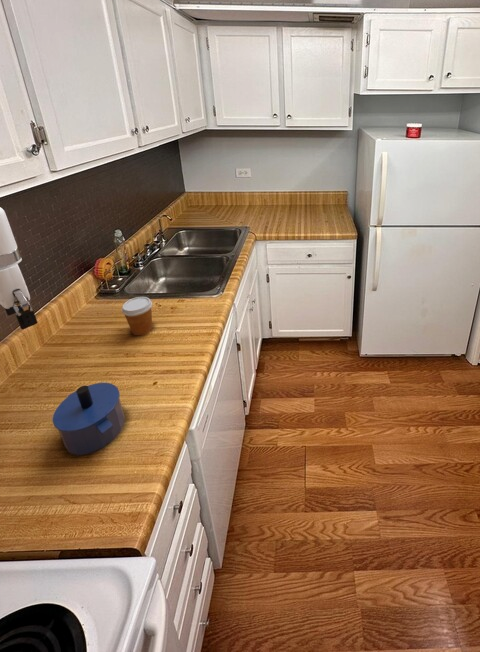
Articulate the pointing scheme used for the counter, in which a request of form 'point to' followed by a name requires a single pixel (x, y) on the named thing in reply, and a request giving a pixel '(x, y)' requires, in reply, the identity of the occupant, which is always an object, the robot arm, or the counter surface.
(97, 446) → the pot
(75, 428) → the lid
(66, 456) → the counter surface
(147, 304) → the disposable coffee cup
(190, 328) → the counter surface
